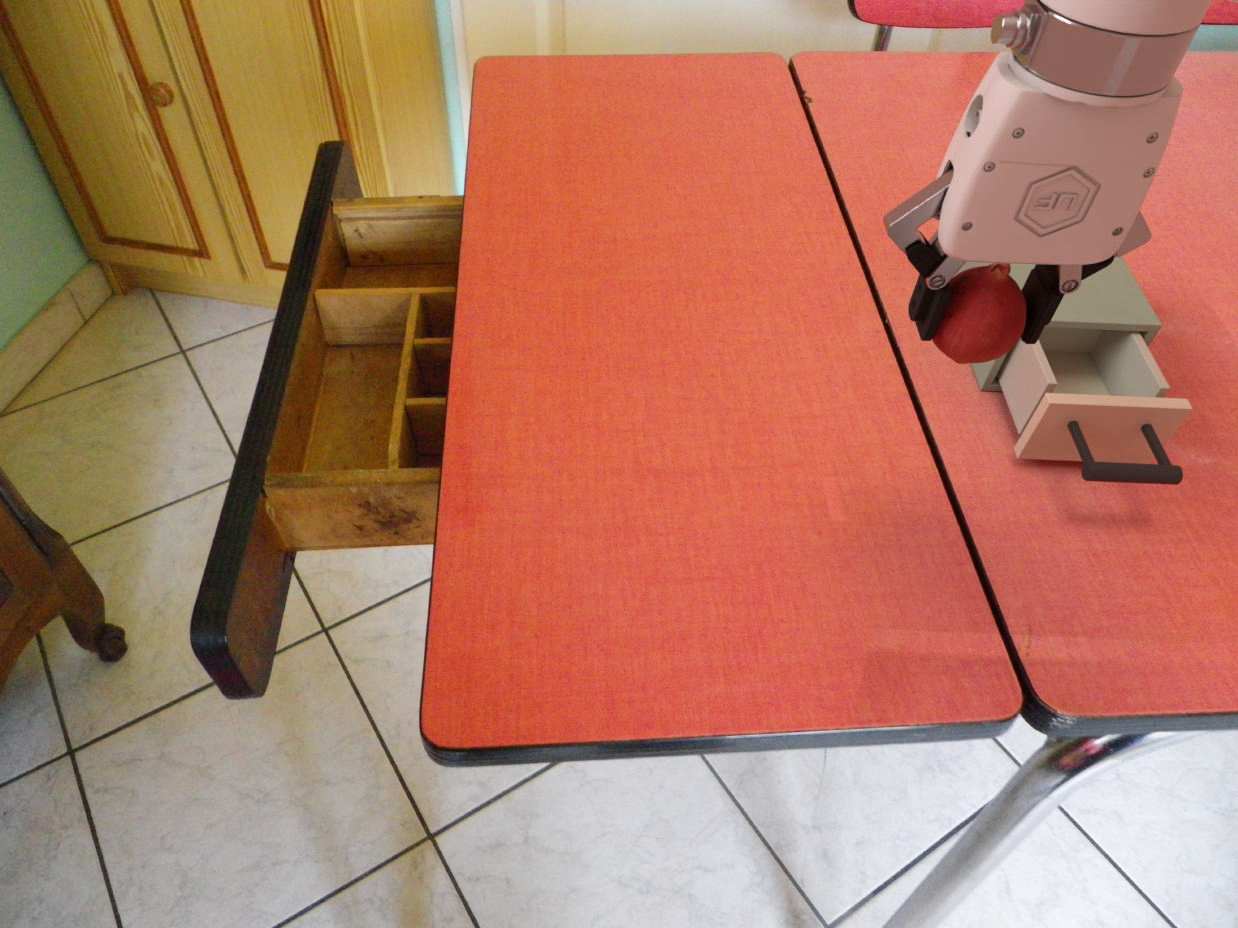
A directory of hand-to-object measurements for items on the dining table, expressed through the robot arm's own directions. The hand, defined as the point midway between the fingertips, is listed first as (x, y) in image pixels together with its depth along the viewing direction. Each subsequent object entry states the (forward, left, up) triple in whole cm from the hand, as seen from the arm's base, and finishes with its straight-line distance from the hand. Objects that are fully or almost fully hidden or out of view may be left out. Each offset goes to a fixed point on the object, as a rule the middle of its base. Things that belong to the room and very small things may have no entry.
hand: (972, 326), depth 55 cm
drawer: (-9, -17, -18) cm, 27 cm away
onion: (0, 0, -3) cm, 3 cm away
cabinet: (-2, -28, -19) cm, 34 cm away
